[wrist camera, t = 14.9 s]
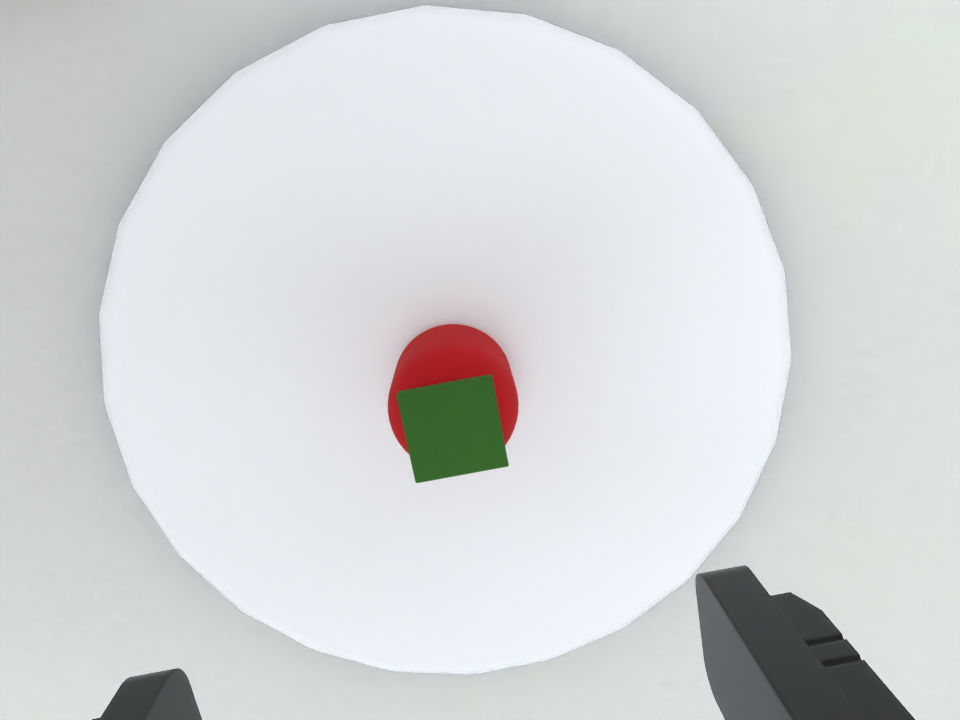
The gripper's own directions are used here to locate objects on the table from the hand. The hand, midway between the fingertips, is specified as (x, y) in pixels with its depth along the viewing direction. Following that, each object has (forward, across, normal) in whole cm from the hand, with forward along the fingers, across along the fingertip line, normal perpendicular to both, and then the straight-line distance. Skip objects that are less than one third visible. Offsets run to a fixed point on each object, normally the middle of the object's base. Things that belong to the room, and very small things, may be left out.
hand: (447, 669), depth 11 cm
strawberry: (+15, 0, 0) cm, 15 cm away
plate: (+17, 0, 0) cm, 17 cm away
